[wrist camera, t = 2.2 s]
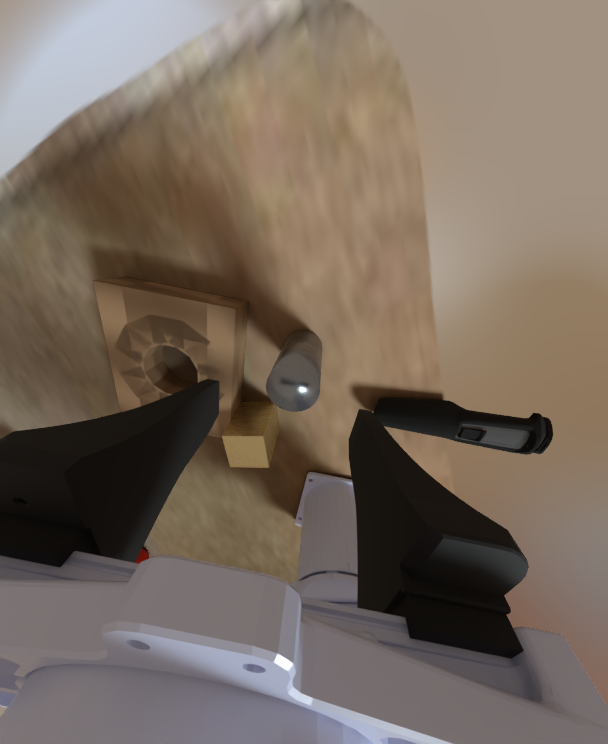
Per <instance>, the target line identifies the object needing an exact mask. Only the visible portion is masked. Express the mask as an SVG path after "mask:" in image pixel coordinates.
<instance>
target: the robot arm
mask: <svg viewBox="0 0 608 744" xmlns="http://www.w3.org/2000/svg"><path fill="white" fill-rule="evenodd" d="M219 383H220V381H217V380H212V379H206V380H203V381H201V382H199V383H196V384H194V385H192V386H190V387H188V388H185V389H183V390H181V391H179V392H176V393H174V394H172V395H169V396H167V397H164V398H162V399H159V400H157V401H154V402H152V403H149V404H146V405H143V406H140V407H137V408H134V409H131V410H128V411H124V412H121V413H117V414H113V415H109V416H105V417H101V418H97V419H92V420H87V421H82V422H77V423H71V424H66V425H60V426H53V427H46V428H38V429H31V430H23V431H14V432H12V433H10V434H9V435H7V436H5V437H3V438H2V439H0V706H2V707H6V708H7V709H6V710H5V711H4V713H3V714H2V716H1V717H0V744H608V707H607V705H606V703H605V702H604V700H603V698H602V697H601V695H600V693H599V692H598V690H597V689H596V687H595V685H594V684H593V682H592V680H591V679H590V677H589V676H588V674H587V672H586V671H585V669H584V668H583V666H582V664H581V663H580V661H579V659H578V658H577V656H576V654H575V653H574V651H573V650H572V648H571V646H570V645H569V643H568V642H567V640H566V638H565V637H564V636H563V635H561V634H559V633H554V632H549V631H544V630H539V629H534V628H529V627H515V628H513V627H512V625H511V623H510V621H509V619H508V617H507V615H506V614H509V613H510V612H511V610H510V607H509V605H508V603H507V601H506V599H505V597H504V595H505V594H506V593H508V592H509V591H510V590H511V589H512V588H514V587H515V586H516V585H517V584H518V583H520V582H521V581H522V580H523V578H524V577H525V576H526V573H527V570H528V562H527V559H526V558H525V556H524V555H523V553H522V552H521V550H520V548H519V547H518V545H517V544H516V542H515V541H514V540H513V538H512V536H511V535H510V533H509V531H508V530H507V529H505V528H503V527H502V526H500V525H499V524H497V523H496V522H494V521H492V520H491V519H489V518H488V517H486V516H484V515H483V514H481V513H480V512H478V511H476V510H475V509H474V508H472V507H471V506H469V505H468V504H466V503H465V502H464V501H462V500H461V499H459V498H458V497H456V496H455V495H454V494H452V493H451V492H450V491H448V490H447V489H446V488H445V487H443V486H442V485H441V484H440V483H438V482H437V481H436V480H435V479H434V478H432V477H431V476H430V475H429V474H428V473H427V472H425V471H424V470H423V469H422V468H421V467H420V466H419V465H418V464H417V463H416V462H415V461H414V460H413V459H412V458H411V457H410V456H409V455H408V454H407V453H406V452H405V451H404V450H403V449H402V448H401V447H400V446H399V444H398V443H397V442H396V441H395V440H394V439H393V438H392V436H391V435H390V434H389V433H388V431H387V430H386V429H385V428H384V426H383V425H382V424H381V423H380V421H379V420H378V419H377V418H376V416H375V415H374V414H373V413H372V412H371V411H367V410H362V409H359V411H358V414H357V417H356V420H355V423H354V426H353V429H352V432H351V435H350V438H349V461H350V469H351V476H352V480H350V479H345V478H341V477H336V476H331V475H326V474H321V473H316V472H309V473H308V474H307V477H306V481H305V485H304V489H303V492H302V496H301V500H300V504H299V508H298V511H297V515H296V519H295V524H296V525H298V526H302V533H301V543H300V554H299V564H298V574H297V582H291V585H290V584H289V583H288V582H286V581H285V580H283V579H280V578H277V577H274V576H271V575H269V574H265V573H260V572H255V571H250V570H245V569H240V568H235V567H230V566H225V565H220V564H215V563H210V562H205V561H200V560H195V559H190V558H185V557H180V556H171V555H157V556H155V557H152V558H149V559H147V560H145V561H142V562H141V563H140V564H138V563H135V562H136V560H137V558H138V556H139V554H140V552H141V550H142V547H143V545H144V543H145V541H146V539H147V537H148V535H149V533H150V531H151V529H152V527H153V525H154V523H155V521H156V519H157V517H158V515H159V513H160V511H161V509H162V507H163V505H164V503H165V502H166V500H167V498H168V496H169V494H170V492H171V490H172V489H173V487H174V485H175V483H176V481H177V480H178V478H179V476H180V474H181V473H182V471H183V470H184V468H185V466H186V465H187V463H188V462H189V461H190V459H191V458H192V456H193V455H194V453H195V452H196V451H197V449H198V448H199V446H200V445H201V443H202V442H203V441H204V439H205V438H206V436H207V435H208V433H209V432H210V430H211V428H212V427H213V425H214V423H215V421H216V419H217V417H218V415H219Z"/></svg>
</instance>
